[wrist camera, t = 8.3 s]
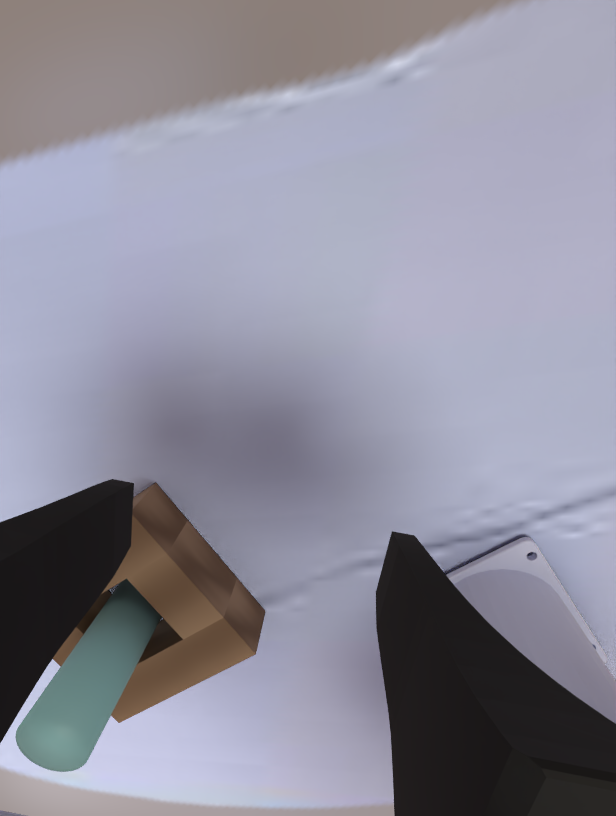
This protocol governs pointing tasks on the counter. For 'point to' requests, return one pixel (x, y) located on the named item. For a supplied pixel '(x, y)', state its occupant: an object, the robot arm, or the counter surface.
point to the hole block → (177, 607)
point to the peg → (88, 683)
